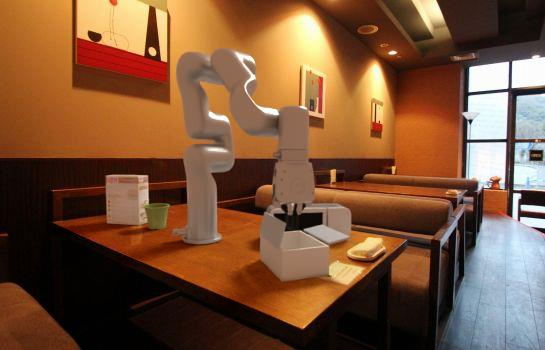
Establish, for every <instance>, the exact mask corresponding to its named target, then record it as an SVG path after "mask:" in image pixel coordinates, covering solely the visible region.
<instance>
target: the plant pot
mask: <svg viewBox="0 0 545 350" xmlns="http://www.w3.org/2000/svg"><path fill="white" fill-rule="evenodd" d="M170 206H171V205H170V204H168V203H150V204H148V205H144V206H143V207H144V208H145V211H146V215H147V222H148V223H147V228H148V229H149V230H163V229H165V228H166V226H167V218H168V212H169V211H168V210H169V207H170Z"/></svg>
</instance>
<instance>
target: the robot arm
mask: <svg viewBox="0 0 545 350" xmlns="http://www.w3.org/2000/svg"><path fill="white" fill-rule="evenodd" d="M175 69H176V70H175V76H176V77H175V78H176V83H177V86H178V90H179V93H180V97H181V103H182V112H183V113H182V114H183V122H184V129H185V133H186V136H187V137H188V138H189V139H192V140H195V141H209V142H210V141H211V142H212V143H194V144H191V145H188V146H187V147H186V149H184V152H183V156H182V157H183V165H184V171H185V177H186V194H187V195H186V196H187V197H186V198H187V201H186V202H187V208H186V211H187V215H186V216H187V224H186V225H185V227H182V228H173V229H172V236H178V237H179V236H182V241H183V242H184V243H185V244H186V243H187V244H189V245H208V244H214V243H217V242H219V241H221V240H222V236H223V235H222V234H221V233H219V232H218V204H217V203H218V202H217V201H218V196H217V195H218V192H217V191H218V190H217V183H216V180H215V178H214V176H213V175H212V173H225V172H228V171H230V170H231V169H232V168H233V167H234V164H235V160H236V159H235V156H236V155H235V147H234V139H233V138H234V137H233V130H232V125H231V122H230V119H229V118H228V116H226V115H224V114H223V113H218V112H212V111H211V109H210V100H209V96H208V94H207V92H206V90H205V89H204V87H203V85H202V84H201V83H203V82H204V83H208V84H211V85H215V86H224V88H225V89H226V91H227V93H228V94H229V99H228V100H229V101H228V107H229V111H230V114H231V115H232V118H233V119H234V121H235V122H236V123H237V125H238V126H239V128H240V129H241V130H242V131H243V132H244V133H245V134H247V135H249V136H252V137H257V138H258V137H262V138H275V139H276V138H277V140H278V141H277V143H278V144H277V145H278V146H277V147H278V149H277V151H276V152H275V151H273V153H272V157H273V159H277V162H275V166H274V169H273V174H272V175H273V176H272V183H271V184H272V186H271V197H272V203H271V205H272V206H273V207H275V208H280V209H282V210H283V211H284V212H285V213H286V227H287V228H288V229H289V230H291V231H294V230H295V231H298V226H299V215H300V214H301V212H302V211H303V209H304V208H305V207H308V206H311V205H313V204H314V202H313V201H315V197H316V188H315V187H316V186H315V175H314V168H313V163H312V162H309V149H310V148H309V144H310V143H309V141H310V111H309V109H308V108H307V107H305V106H302V105H287V106H283V107H281V108H280V109H277V108H272V107H266V106H259V105H258V104H256V103H255V102H254V100H253V98H252V96H253V95H254V94H255V93H256V91H257V88H258V79H257V78H256V73H257V72H256V71H257V65H256V62H255V60H254V59H253V57H252V56H250V54H248V53H245V52H242V51H238V50H235V49H233V48H229V47H219V48H217V49H215V50H214V51H213V52H212V53H211V55H209V54H207V53H203V52H198V51H186V52H184V53H182V54H181V55H180V56H179V57H178V60H177V64H176V68H175ZM292 203H294V205H293V211H292Z"/></svg>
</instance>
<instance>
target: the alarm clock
mask: <svg viewBox="0 0 545 350" xmlns="http://www.w3.org/2000/svg"><path fill="white" fill-rule="evenodd" d="M293 205H294V203H292V211H293ZM265 212H266V213H268V214H270V215H272V216H274V217H276V218H277V219H279V220H281V221H283V222H285V223H286V213H285V212H284V211H283V210H282V209H280V208H275V207H273V206H272V204H270V205H268V207H267V208H266V211H265ZM319 225H324V226H327V227H329V228H331V229H334V230H336V231H338V232H341V233H343V234H345V235H347V236H350V234H351V232H352V212H351V209H349V208H347V207H345V206H343V205H341V204H339V203H313V205H311V206H308V207H305V208H304V209H303V211H302V212H301V214H300V215H299V226H298V231H302V232H304V233H306V234H308V233H307V232H305V231H304V229H307V228H311V227H315V226H319ZM289 231H291V230H289V229H288V228H287V227H285V231H284V232H289ZM294 231H295V230H294ZM308 235H310V234H308ZM310 236H312V235H310ZM312 237H313V238H315V239H317V240H319V241H321V240H320V239H318V238H316V237H314V236H312Z"/></svg>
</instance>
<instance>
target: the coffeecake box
mask: <svg viewBox="0 0 545 350" xmlns="http://www.w3.org/2000/svg"><path fill="white" fill-rule="evenodd" d="M105 198H106V199H105V200H106V203H105V204H106V224H111V225H129V226H141V225H145V224H148V222H147V215H146V211H145V208H144V207H143V206H144V205H148V204H149V203H150V202H149V201H150V199H149V175H147V174H145V175H144V174H142V175H140V174H111V175H110V174H109V175H108V174H107V175H105Z"/></svg>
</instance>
